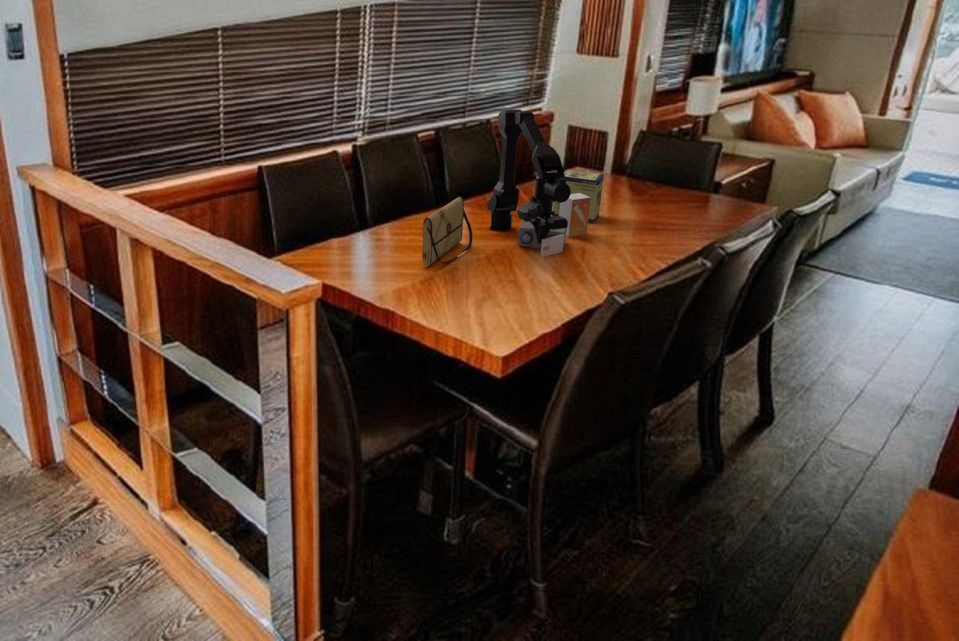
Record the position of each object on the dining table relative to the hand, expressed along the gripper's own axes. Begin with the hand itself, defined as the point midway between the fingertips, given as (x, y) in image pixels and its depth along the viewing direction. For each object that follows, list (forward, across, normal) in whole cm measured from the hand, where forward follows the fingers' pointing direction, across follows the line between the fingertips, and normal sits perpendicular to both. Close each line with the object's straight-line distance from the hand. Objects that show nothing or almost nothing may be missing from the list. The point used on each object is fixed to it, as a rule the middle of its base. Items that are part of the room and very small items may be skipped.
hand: (539, 243), depth 245 cm
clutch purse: (+3, -10, -27) cm, 29 cm away
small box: (+3, -12, +22) cm, 25 cm away
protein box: (+3, -27, +36) cm, 45 cm away
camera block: (+3, -7, +6) cm, 9 cm away
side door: (+3, +3, +3) cm, 5 cm away
